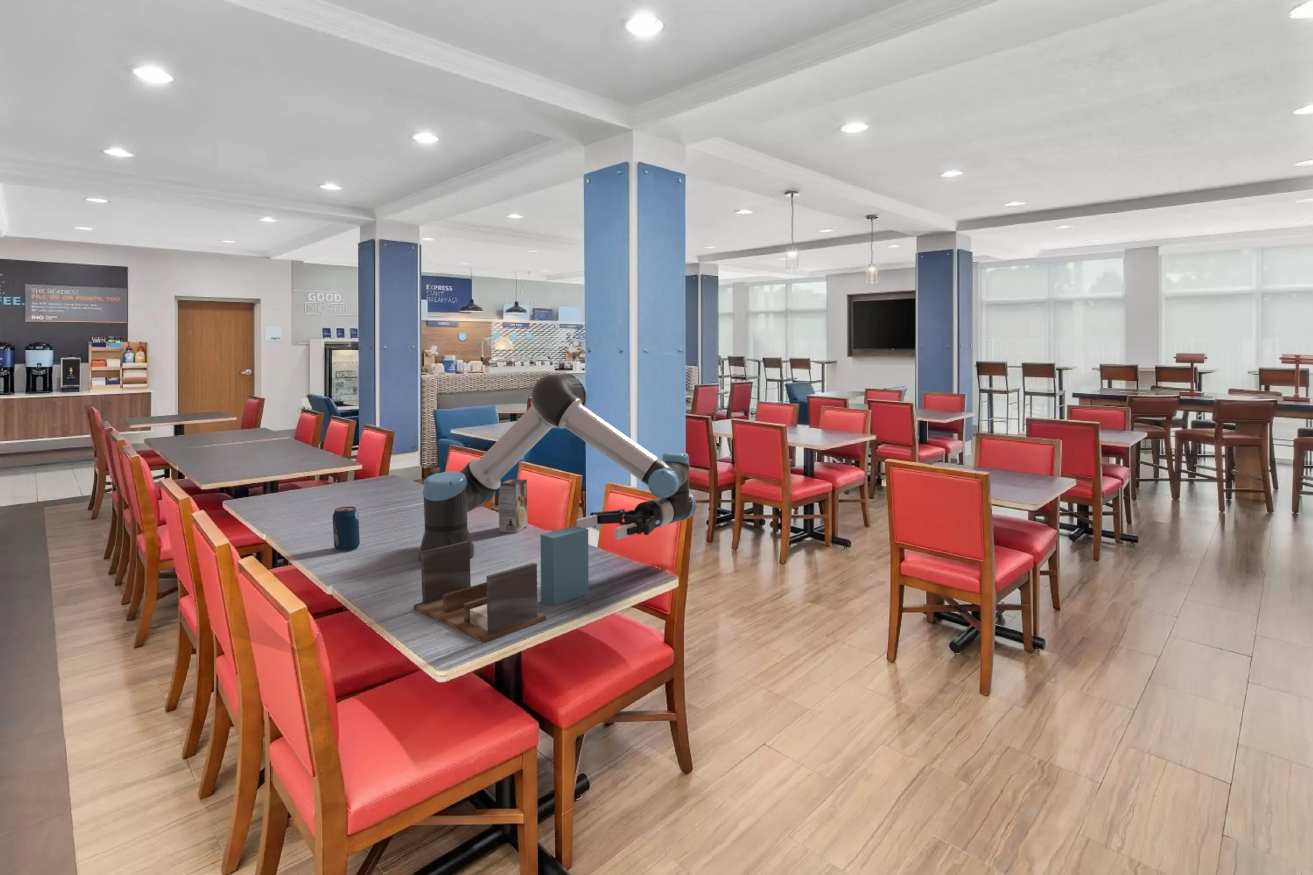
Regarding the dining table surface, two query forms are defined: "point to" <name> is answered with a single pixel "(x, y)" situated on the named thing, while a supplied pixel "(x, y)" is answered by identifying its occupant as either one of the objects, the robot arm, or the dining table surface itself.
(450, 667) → the dining table surface
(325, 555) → the dining table surface
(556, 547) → the book
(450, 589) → the book rack
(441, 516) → the robot arm
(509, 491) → the coffee box
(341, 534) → the soda can
